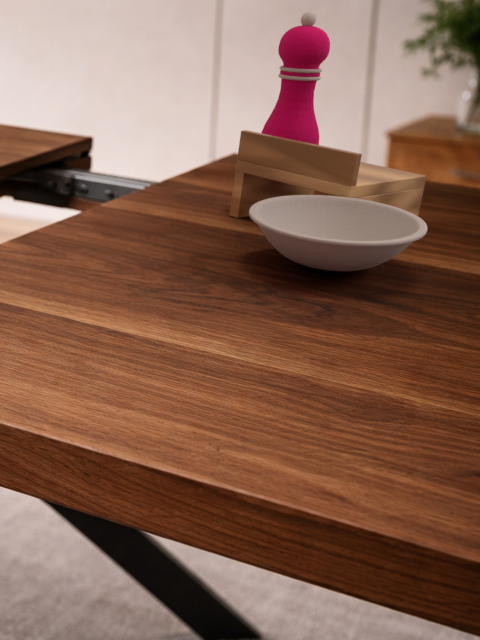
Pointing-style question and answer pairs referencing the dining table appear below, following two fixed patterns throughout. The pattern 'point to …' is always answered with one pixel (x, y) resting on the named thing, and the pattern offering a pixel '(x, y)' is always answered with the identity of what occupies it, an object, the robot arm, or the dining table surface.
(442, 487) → the dining table surface
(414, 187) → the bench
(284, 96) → the pepper mill
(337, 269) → the dish
